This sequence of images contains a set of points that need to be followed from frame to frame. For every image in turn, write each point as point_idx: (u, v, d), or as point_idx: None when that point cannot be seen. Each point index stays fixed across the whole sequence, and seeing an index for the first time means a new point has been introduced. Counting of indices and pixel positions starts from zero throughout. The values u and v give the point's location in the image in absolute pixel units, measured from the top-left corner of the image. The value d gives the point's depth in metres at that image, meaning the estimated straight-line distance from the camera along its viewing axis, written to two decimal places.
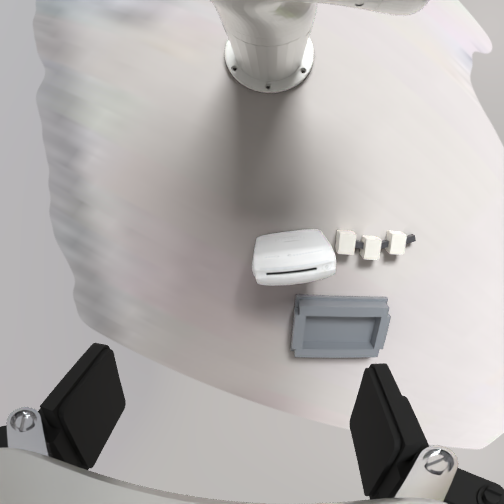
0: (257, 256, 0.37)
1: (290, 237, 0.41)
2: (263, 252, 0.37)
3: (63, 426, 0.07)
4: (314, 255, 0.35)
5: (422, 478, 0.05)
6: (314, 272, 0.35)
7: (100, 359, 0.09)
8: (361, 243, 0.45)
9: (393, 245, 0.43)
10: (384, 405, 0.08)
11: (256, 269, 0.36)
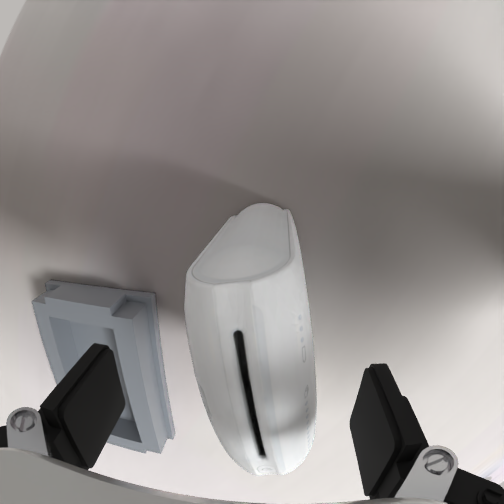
0: (297, 280, 0.09)
1: None
2: (306, 294, 0.10)
3: (63, 426, 0.07)
4: (301, 446, 0.10)
5: (422, 478, 0.05)
6: (251, 458, 0.10)
7: (100, 359, 0.09)
8: None
9: None
10: (384, 405, 0.08)
11: (254, 290, 0.08)
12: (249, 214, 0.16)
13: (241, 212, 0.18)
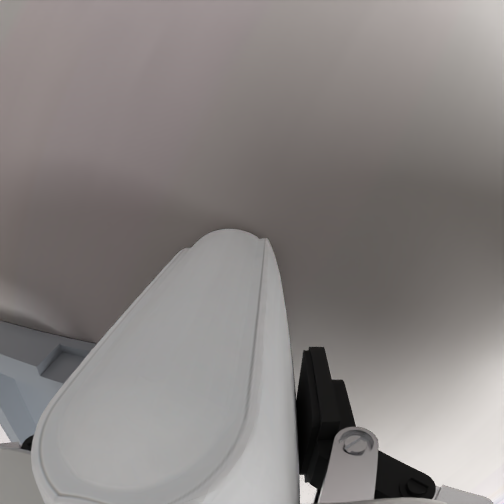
0: (258, 484, 0.03)
1: (296, 409, 0.09)
2: (284, 483, 0.04)
3: None
4: None
5: (345, 462, 0.06)
6: None
7: None
8: None
9: None
10: (311, 384, 0.09)
11: None
12: (197, 257, 0.09)
13: (194, 245, 0.12)
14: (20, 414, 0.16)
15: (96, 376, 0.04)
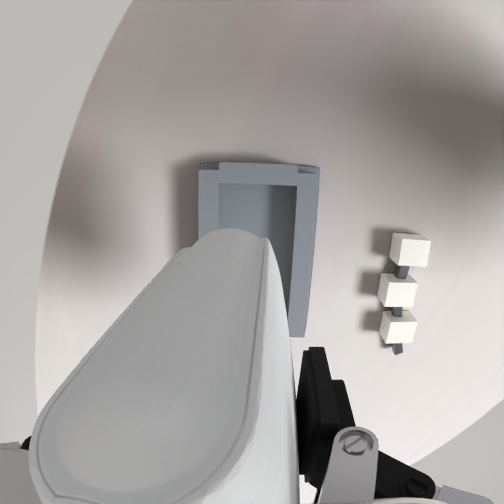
0: (258, 486, 0.03)
1: (296, 409, 0.09)
2: (284, 483, 0.04)
3: None
4: None
5: (345, 462, 0.06)
6: None
7: None
8: (405, 275, 0.27)
9: (402, 325, 0.27)
10: (311, 384, 0.09)
11: None
12: (197, 256, 0.09)
13: (194, 245, 0.12)
14: None
15: (94, 376, 0.04)
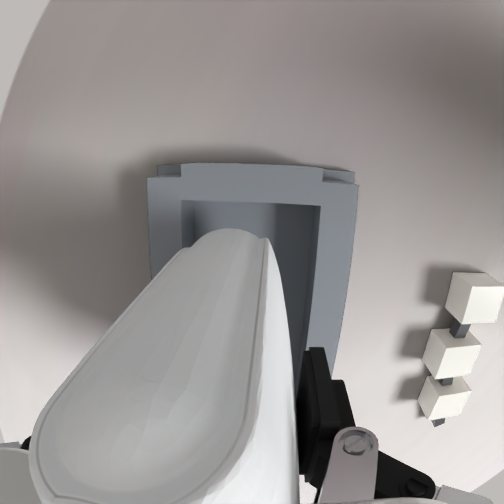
0: (257, 487, 0.03)
1: (296, 409, 0.09)
2: (284, 484, 0.04)
3: None
4: None
5: (345, 462, 0.06)
6: None
7: None
8: (465, 332, 0.17)
9: (452, 398, 0.17)
10: (311, 384, 0.09)
11: None
12: (197, 256, 0.09)
13: (194, 245, 0.12)
14: None
15: (94, 376, 0.04)
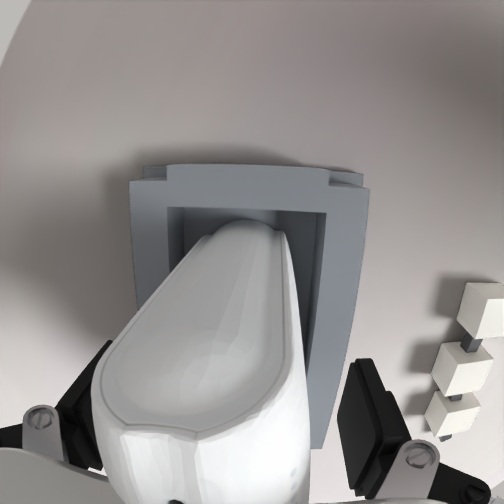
0: (295, 411, 0.04)
1: None
2: (309, 420, 0.05)
3: (81, 423, 0.07)
4: None
5: (404, 472, 0.05)
6: None
7: None
8: (477, 346, 0.15)
9: (461, 414, 0.15)
10: (367, 399, 0.08)
11: (203, 453, 0.03)
12: (225, 241, 0.10)
13: (217, 232, 0.13)
14: None
15: (154, 328, 0.05)
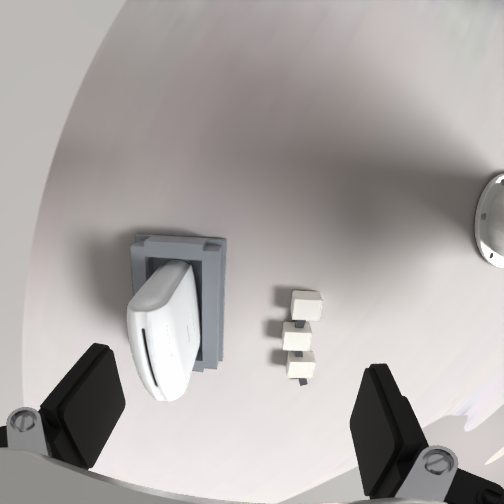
0: (167, 311, 0.24)
1: (192, 324, 0.30)
2: (172, 317, 0.24)
3: (63, 426, 0.07)
4: (173, 383, 0.25)
5: (422, 478, 0.05)
6: (151, 385, 0.24)
7: (100, 359, 0.09)
8: (303, 325, 0.35)
9: (300, 364, 0.35)
10: (384, 405, 0.08)
11: (148, 314, 0.23)
12: (164, 271, 0.30)
13: (164, 265, 0.32)
14: None
15: (141, 295, 0.25)
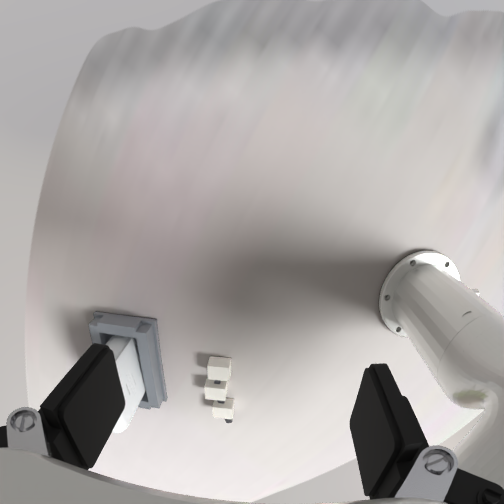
0: None
1: (132, 381, 0.39)
2: None
3: (63, 426, 0.07)
4: None
5: (422, 478, 0.05)
6: None
7: (100, 359, 0.09)
8: (219, 382, 0.43)
9: (221, 409, 0.43)
10: (384, 405, 0.08)
11: None
12: (110, 345, 0.39)
13: (113, 337, 0.41)
14: None
15: None
